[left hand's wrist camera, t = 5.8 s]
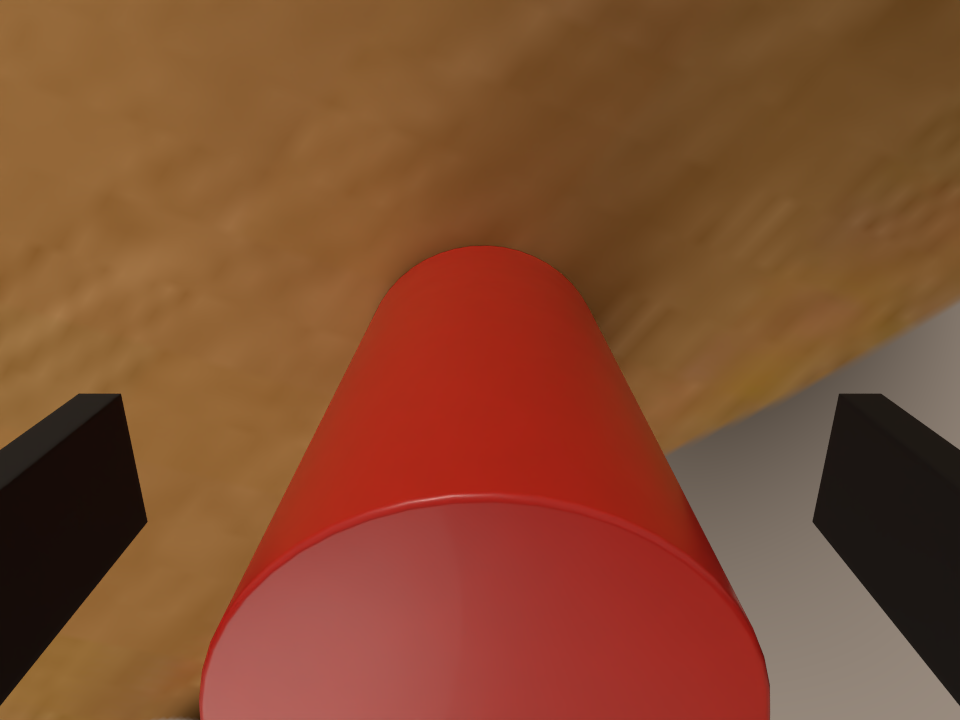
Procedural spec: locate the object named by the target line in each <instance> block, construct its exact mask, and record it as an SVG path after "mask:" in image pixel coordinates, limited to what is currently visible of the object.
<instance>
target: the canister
mask: <svg viewBox="0 0 960 720" xmlns="http://www.w3.org/2000/svg"><path fill="white" fill-rule="evenodd" d="M199 706H200V720H770V684H769V679H768V674H767V669H766V664H765V659H764V655H763V653H762V650H761V648H760V645H759V642H758V640H757V637H756V635H755V632H754V630H753V627H752V626H751V624H750V622H749V620H748V618H747V616H746V614H745V612H744V610H743V608H742V606H741V604H740V602H739V600H738V598H737V596H736V594H735V592H734V591H733V589H732V587H731V585H730V583H729V581H728V579H727V577H726V575H725V573H724V571H723V569H722V567H721V565H720V563H719V561H718V559H717V557H716V555H715V553H714V551H713V550H712V548H711V546H710V544H709V542H708V540H707V538H706V536H705V534H704V532H703V530H702V528H701V526H700V524H699V522H698V520H697V518H696V516H695V514H694V512H693V511H692V509H691V507H690V505H689V503H688V501H687V499H686V497H685V495H684V493H683V491H682V489H681V487H680V485H679V483H678V481H677V479H676V477H675V475H674V473H673V472H672V470H671V468H670V466H669V464H668V462H667V460H666V458H665V456H664V454H663V452H662V450H661V448H660V446H659V444H658V442H657V440H656V438H655V436H654V434H653V432H652V431H651V429H650V427H649V425H648V423H647V421H646V419H645V417H644V415H643V413H642V411H641V409H640V407H639V405H638V403H637V401H636V399H635V397H634V395H633V393H632V392H631V390H630V388H629V386H628V384H627V382H626V380H625V378H624V376H623V374H622V372H621V370H620V368H619V366H618V364H617V362H616V360H615V358H614V356H613V354H612V353H611V351H610V349H609V347H608V345H607V343H606V341H605V339H604V337H603V335H602V333H601V331H600V329H599V327H598V325H597V323H596V321H595V319H594V317H593V315H592V314H591V312H590V310H589V308H588V306H587V304H586V303H585V301H584V299H583V298H582V296H581V295H580V293H579V292H578V291H577V290H576V288H575V287H574V286H573V284H572V283H571V282H570V281H568V280H567V279H566V278H565V277H564V276H563V275H562V274H561V273H560V272H559V271H557V270H556V269H554V268H553V267H552V266H550V265H549V264H547V263H545V262H544V261H542V260H540V259H538V258H536V257H534V256H532V255H529V254H526V253H524V252H521V251H518V250H513V249H509V248H505V247H496V246H469V247H463V248H457V249H452V250H449V251H446V252H443V253H439V254H437V255H435V256H433V257H431V258H428V259H426V260H424V261H423V262H421V263H419V264H418V265H416V266H415V267H413V268H411V269H410V270H409V271H408V272H407V273H405V274H404V275H403V276H402V277H401V278H399V280H398V281H397V282H396V283H395V284H394V285H393V286H392V287H391V288H390V289H389V291H388V292H387V294H386V295H385V297H384V298H383V300H382V301H381V303H380V305H379V307H378V309H377V311H376V313H375V315H374V317H373V319H372V321H371V323H370V325H369V327H368V329H367V331H366V333H365V335H364V337H363V339H362V341H361V343H360V345H359V347H358V349H357V351H356V353H355V354H354V356H353V358H352V360H351V362H350V364H349V366H348V368H347V370H346V372H345V374H344V376H343V378H342V380H341V382H340V384H339V386H338V388H337V390H336V392H335V394H334V396H333V398H332V400H331V402H330V404H329V406H328V408H327V410H326V412H325V414H324V416H323V418H322V420H321V422H320V424H319V426H318V428H317V430H316V432H315V434H314V436H313V438H312V440H311V442H310V444H309V446H308V448H307V450H306V452H305V454H304V456H303V458H302V460H301V462H300V464H299V466H298V468H297V470H296V472H295V474H294V476H293V478H292V480H291V482H290V484H289V486H288V488H287V490H286V492H285V494H284V496H283V498H282V500H281V502H280V504H279V506H278V508H277V510H276V512H275V514H274V516H273V518H272V520H271V522H270V524H269V526H268V528H267V530H266V532H265V534H264V536H263V538H262V540H261V542H260V544H259V546H258V548H257V550H256V552H255V554H254V556H253V558H252V560H251V562H250V564H249V566H248V568H247V570H246V572H245V574H244V576H243V578H242V580H241V582H240V584H239V586H238V588H237V590H236V592H235V594H234V596H233V598H232V600H231V602H230V604H229V606H228V608H227V610H226V612H225V614H224V616H223V618H222V620H221V622H220V624H219V626H218V628H217V630H216V632H215V634H214V636H213V638H212V640H211V642H210V645H209V649H208V652H207V655H206V659H205V662H204V666H203V669H202V676H201V686H200V695H199Z"/></svg>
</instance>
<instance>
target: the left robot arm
mask: <svg viewBox="0 0 960 720" xmlns="http://www.w3.org/2000/svg"><path fill="white" fill-rule="evenodd" d="M146 523H147V517H146V512H145V507H144V503H143V498H142V493H141V488H140V483H139V479H138V474H137V469H136V464H135V459H134V454H133V450H132V445H131V440H130V435H129V430H128V426H127V421H126V416H125V411H124V406H123V402H122V397H121V394H78V395H76V396H75V397H74V398H72V399H71V400H70V401H68V402H67V403H65V404H64V405H63V406H61V407H60V408H58V409H57V410H56V411H54V412H53V413H51V414H50V415H49V416H47V417H46V418H44V419H43V420H42V421H40V422H39V423H37V424H36V425H35V426H33V427H32V428H30V429H29V430H28V431H26V432H25V433H23V434H22V435H21V436H19V437H18V438H16V439H15V440H14V441H12V442H11V443H9V444H8V445H7V446H5V447H4V448H2V449H1V450H0V705H1V704H2V703H3V702H4V700H5V699H6V698H7V697H8V695H9V694H10V693H11V692H12V690H13V689H14V688H15V687H16V685H17V684H18V683H19V682H20V680H21V679H22V678H23V677H24V675H25V674H26V673H27V672H28V670H29V669H30V668H31V667H32V665H33V664H34V663H35V662H36V660H37V659H38V658H39V657H40V655H41V654H42V653H43V652H44V650H45V649H46V648H47V647H48V645H49V644H50V643H51V642H52V640H53V639H54V638H55V637H56V635H57V634H58V633H59V632H60V630H61V629H62V628H63V627H64V625H65V624H66V623H67V622H68V620H69V619H70V618H71V617H72V615H73V614H74V613H75V612H76V610H77V609H78V608H79V607H80V605H81V604H82V603H83V602H84V600H85V599H86V598H87V597H88V596H89V594H90V593H91V592H92V591H93V589H94V588H95V587H96V586H97V584H98V583H99V582H100V581H101V579H102V578H103V577H104V576H105V574H106V573H107V572H108V571H109V569H110V568H111V567H112V566H113V564H114V563H115V562H116V561H117V559H118V558H119V557H120V556H121V554H122V553H123V552H124V551H125V549H126V548H127V547H128V546H129V544H130V543H131V542H132V541H133V539H134V538H135V537H136V536H137V534H138V533H139V532H140V531H141V529H142V528H143V527H144V526H145V524H146ZM813 523H814V524H815V526H816V527H817V528H818V529H819V530H820V532H821V533H822V534H823V536H824V537H825V538H826V539H827V541H828V542H829V543H830V544H831V545H832V547H833V548H834V549H835V551H836V552H837V553H838V554H839V556H840V557H841V558H842V559H843V561H844V562H845V563H846V564H847V566H848V567H849V568H850V569H851V570H852V572H853V573H854V574H855V576H856V577H857V578H858V579H859V581H860V582H861V583H862V584H863V586H864V587H865V588H866V589H867V590H868V592H869V593H870V594H871V596H872V597H873V598H874V599H875V600H876V602H877V603H878V604H879V605H880V607H881V608H882V609H883V610H884V612H885V613H886V614H887V615H888V617H889V618H890V619H891V620H892V622H893V623H894V624H895V625H896V627H897V628H898V629H899V630H900V632H901V633H902V634H903V635H904V637H905V638H906V639H907V640H908V642H909V643H910V644H911V645H912V647H913V648H914V649H915V650H916V652H917V653H918V654H919V655H920V657H921V658H922V659H923V660H924V662H925V663H926V664H927V665H928V667H929V668H930V669H931V670H932V672H933V673H934V674H935V675H936V677H937V678H938V679H939V680H940V682H941V683H942V684H943V685H944V687H945V688H946V689H947V690H948V692H949V693H950V694H951V695H952V697H953V698H954V699H955V700H956V702H957V703H958V704H959V705H960V450H959V449H958V448H956V447H955V446H953V445H952V444H951V443H949V442H948V441H946V440H945V439H944V438H942V437H941V436H939V435H938V434H937V433H935V432H934V431H932V430H931V429H930V428H928V427H927V426H925V425H924V424H923V423H921V422H920V421H918V420H917V419H916V418H914V417H913V416H911V415H910V414H909V413H907V412H906V411H904V410H903V409H902V408H900V407H899V406H897V405H896V404H895V403H893V402H892V401H890V400H889V399H888V398H886V397H885V396H883V395H882V394H839V397H838V402H837V406H836V411H835V416H834V421H833V426H832V430H831V435H830V440H829V445H828V450H827V454H826V459H825V464H824V469H823V474H822V479H821V483H820V488H819V493H818V498H817V503H816V507H815V512H814V517H813Z"/></svg>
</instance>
